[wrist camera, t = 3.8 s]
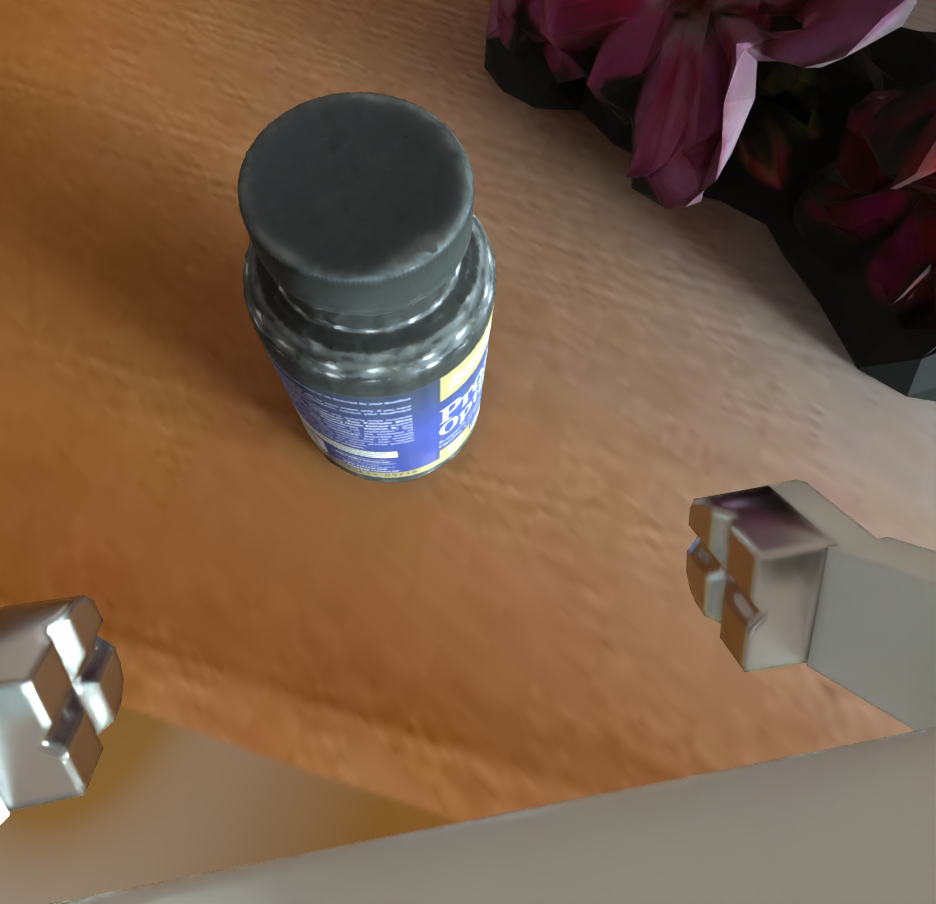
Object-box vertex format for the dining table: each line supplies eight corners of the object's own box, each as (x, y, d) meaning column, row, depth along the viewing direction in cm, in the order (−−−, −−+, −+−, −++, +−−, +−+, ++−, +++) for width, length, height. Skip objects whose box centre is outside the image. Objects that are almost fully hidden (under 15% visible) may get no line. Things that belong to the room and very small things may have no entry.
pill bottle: (474, 492, 23) (505, 330, 12) (292, 481, 23) (168, 308, 12) (482, 329, 25) (515, 73, 14) (315, 318, 25) (225, 51, 14)
